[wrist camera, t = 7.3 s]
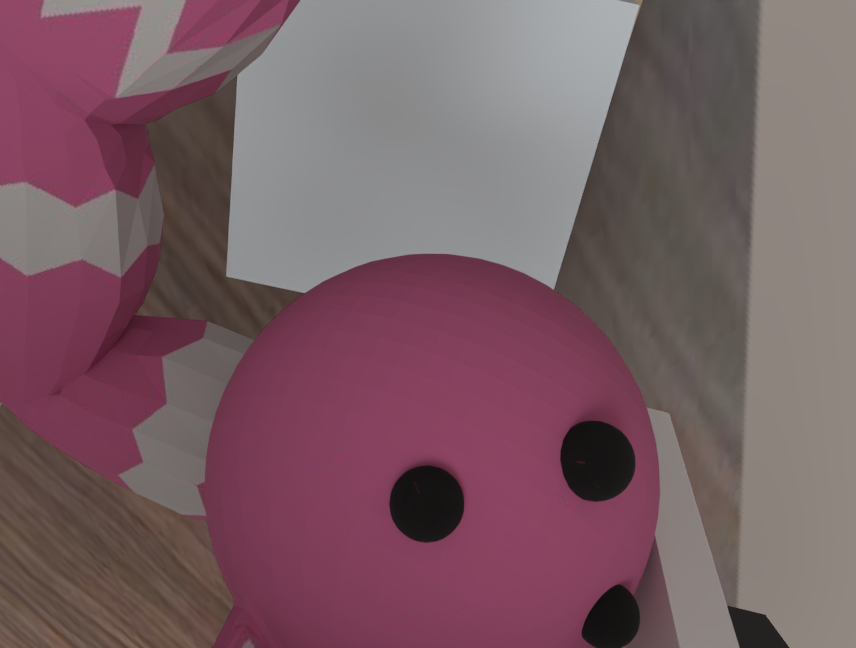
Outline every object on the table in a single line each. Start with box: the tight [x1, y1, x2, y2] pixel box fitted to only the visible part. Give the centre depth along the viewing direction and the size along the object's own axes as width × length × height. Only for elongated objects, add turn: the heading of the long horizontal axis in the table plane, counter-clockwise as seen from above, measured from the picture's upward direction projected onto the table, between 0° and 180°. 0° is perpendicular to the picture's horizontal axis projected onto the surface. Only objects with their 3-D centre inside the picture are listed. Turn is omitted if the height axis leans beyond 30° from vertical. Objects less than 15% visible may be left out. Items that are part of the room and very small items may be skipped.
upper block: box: [226, 0, 640, 293], centre depth 27 cm, size 12×12×4 cm
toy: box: [0, 0, 660, 648], centre depth 11 cm, size 11×9×10 cm
